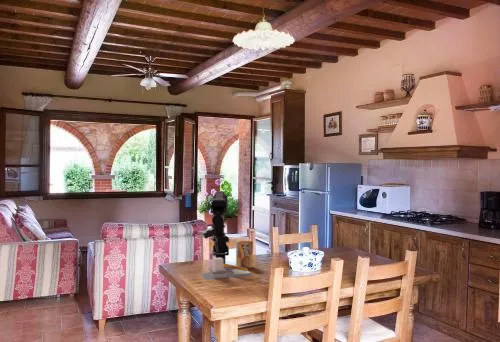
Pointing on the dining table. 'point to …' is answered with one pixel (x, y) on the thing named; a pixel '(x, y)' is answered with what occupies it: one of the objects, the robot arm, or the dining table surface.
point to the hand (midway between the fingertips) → (218, 253)
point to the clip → (235, 267)
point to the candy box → (244, 253)
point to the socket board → (226, 274)
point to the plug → (218, 266)
